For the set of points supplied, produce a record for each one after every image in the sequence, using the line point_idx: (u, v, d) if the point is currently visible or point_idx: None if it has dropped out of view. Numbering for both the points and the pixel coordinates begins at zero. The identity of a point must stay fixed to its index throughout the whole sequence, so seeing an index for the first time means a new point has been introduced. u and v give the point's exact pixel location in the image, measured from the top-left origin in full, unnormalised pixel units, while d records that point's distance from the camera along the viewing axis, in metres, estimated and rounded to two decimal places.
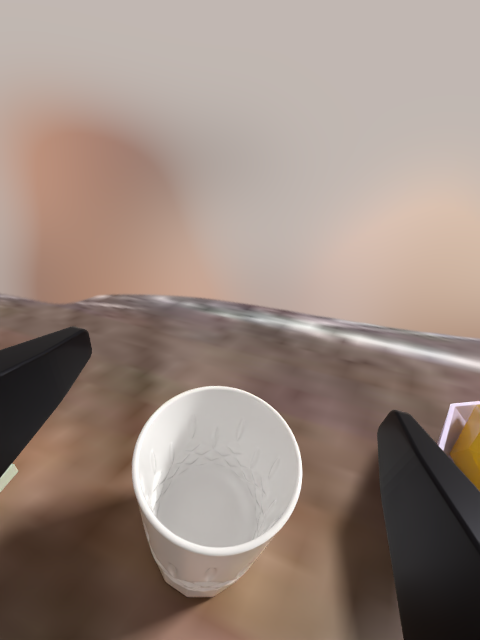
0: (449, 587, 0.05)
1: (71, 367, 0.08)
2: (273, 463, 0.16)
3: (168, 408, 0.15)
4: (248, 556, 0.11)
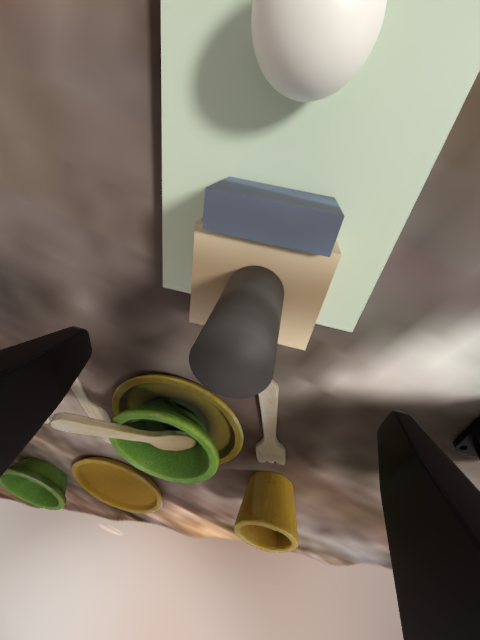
0: (449, 587, 0.05)
1: (71, 367, 0.08)
2: None
3: None
4: None
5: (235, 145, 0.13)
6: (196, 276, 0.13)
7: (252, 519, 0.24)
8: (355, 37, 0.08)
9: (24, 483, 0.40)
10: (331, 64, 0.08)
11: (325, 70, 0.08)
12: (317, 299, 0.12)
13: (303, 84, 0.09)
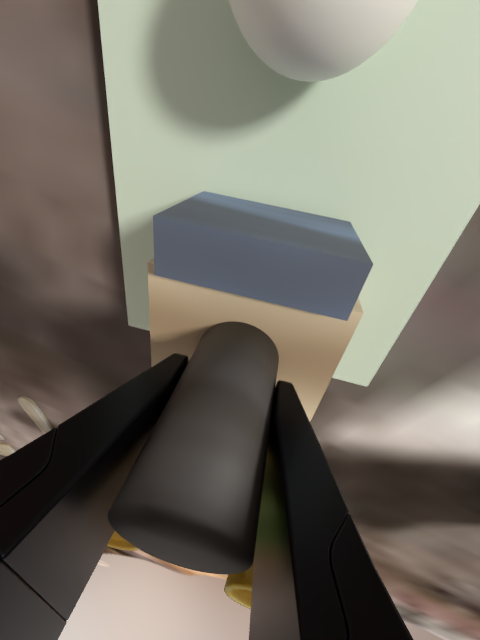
0: (271, 533, 0.05)
1: None
2: None
3: None
4: None
5: (211, 148, 0.09)
6: (156, 331, 0.09)
7: (245, 584, 0.20)
8: None
9: None
10: (360, 5, 0.04)
11: (347, 18, 0.05)
12: (326, 368, 0.08)
13: (308, 47, 0.05)
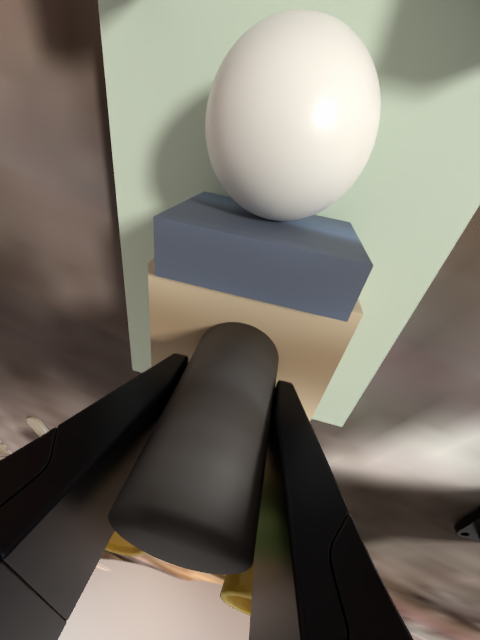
0: (272, 533, 0.05)
1: None
2: None
3: None
4: None
5: None
6: (156, 331, 0.09)
7: (239, 591, 0.22)
8: (339, 167, 0.06)
9: None
10: (309, 195, 0.06)
11: (300, 200, 0.06)
12: (325, 369, 0.08)
13: (273, 210, 0.07)
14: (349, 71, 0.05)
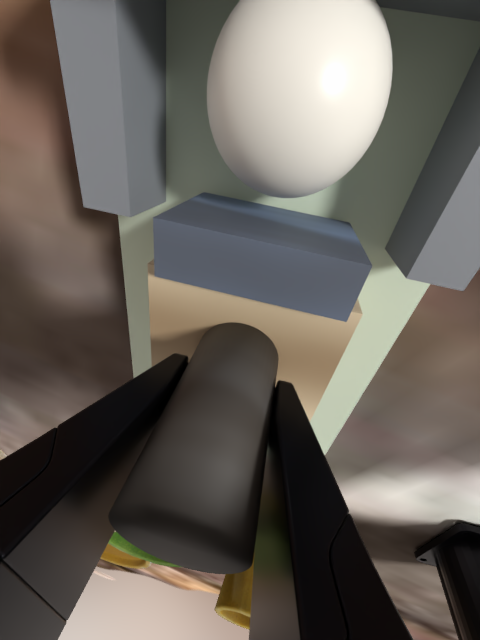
0: (271, 532, 0.05)
1: None
2: None
3: None
4: None
5: None
6: (156, 332, 0.09)
7: (231, 606, 0.25)
8: None
9: None
10: None
11: None
12: (325, 369, 0.08)
13: None
14: None
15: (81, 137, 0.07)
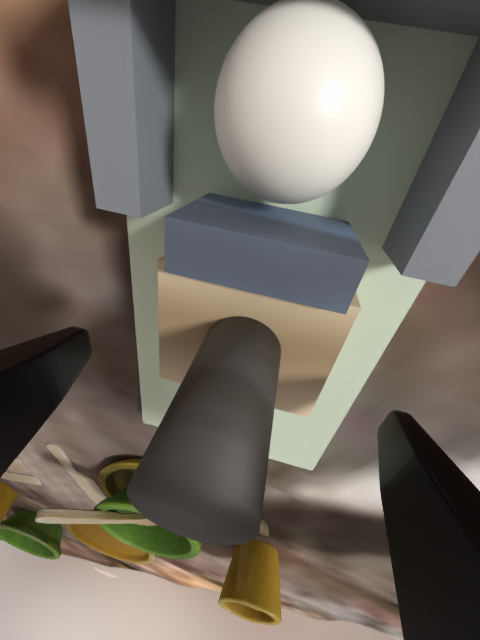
0: (449, 587, 0.05)
1: (71, 367, 0.08)
2: None
3: None
4: None
5: None
6: (164, 326, 0.09)
7: (235, 598, 0.25)
8: None
9: None
10: None
11: None
12: (326, 360, 0.09)
13: None
14: None
15: (96, 143, 0.08)
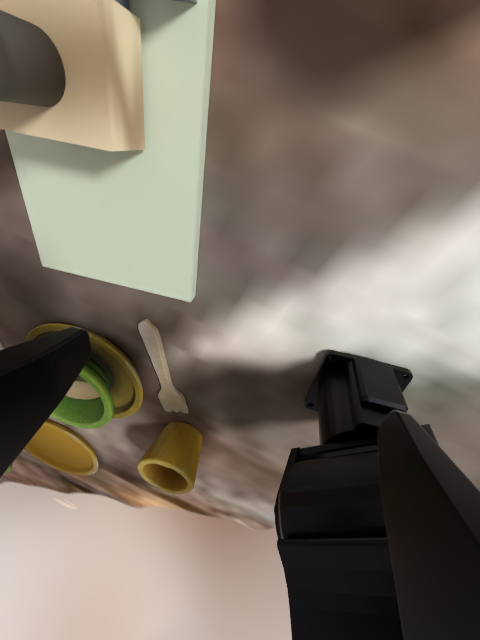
0: (450, 587, 0.05)
1: (71, 367, 0.08)
2: None
3: None
4: None
5: (61, 151, 0.16)
6: None
7: (148, 458, 0.26)
8: None
9: None
10: None
11: None
12: (95, 65, 0.11)
13: None
14: None
15: None
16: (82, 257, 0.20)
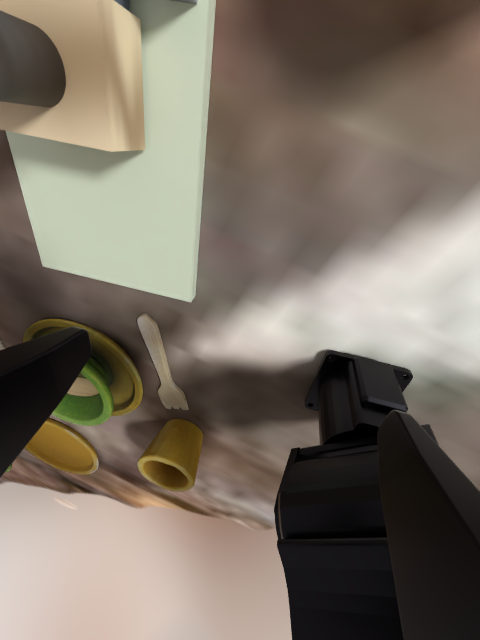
0: (450, 587, 0.05)
1: (71, 367, 0.08)
2: None
3: None
4: None
5: (61, 151, 0.16)
6: None
7: (148, 455, 0.26)
8: None
9: None
10: None
11: None
12: (95, 65, 0.11)
13: None
14: None
15: None
16: (82, 257, 0.20)
